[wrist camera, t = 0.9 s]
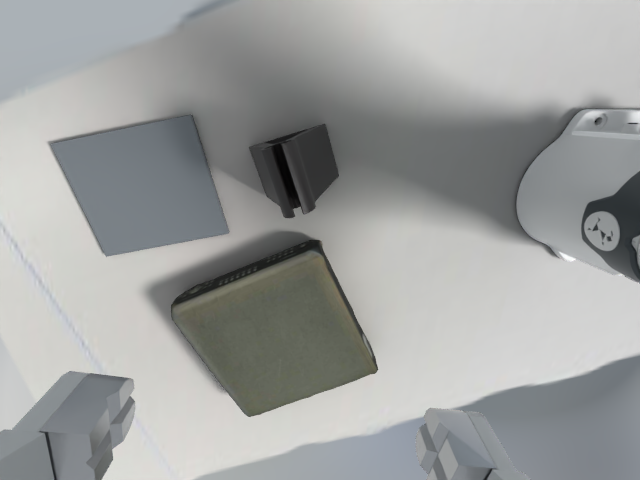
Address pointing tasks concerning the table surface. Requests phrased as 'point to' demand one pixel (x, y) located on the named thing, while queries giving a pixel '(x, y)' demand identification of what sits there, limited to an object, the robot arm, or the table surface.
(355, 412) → the table surface
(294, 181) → the black slotted holder
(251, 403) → the network switch
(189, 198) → the rubber mat
